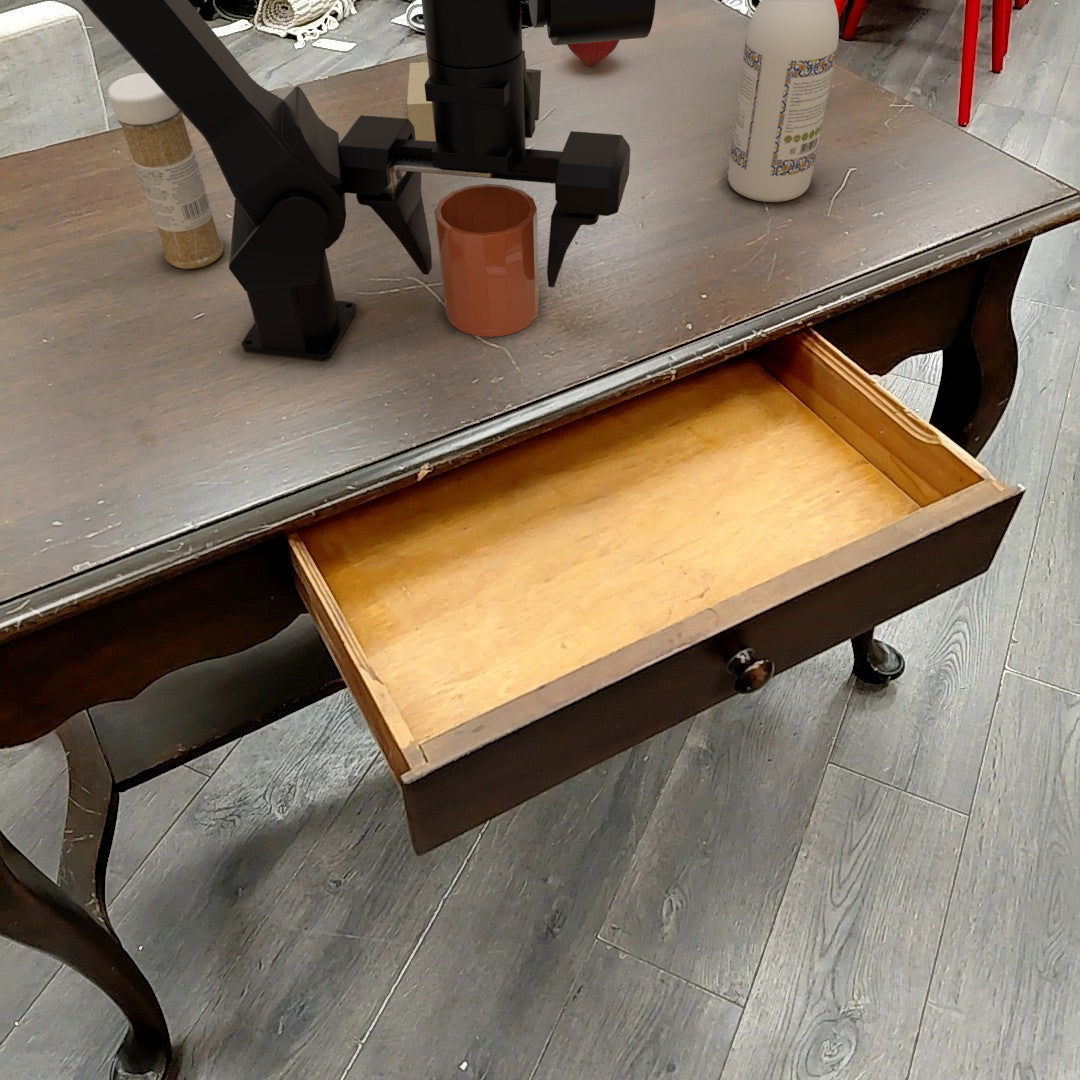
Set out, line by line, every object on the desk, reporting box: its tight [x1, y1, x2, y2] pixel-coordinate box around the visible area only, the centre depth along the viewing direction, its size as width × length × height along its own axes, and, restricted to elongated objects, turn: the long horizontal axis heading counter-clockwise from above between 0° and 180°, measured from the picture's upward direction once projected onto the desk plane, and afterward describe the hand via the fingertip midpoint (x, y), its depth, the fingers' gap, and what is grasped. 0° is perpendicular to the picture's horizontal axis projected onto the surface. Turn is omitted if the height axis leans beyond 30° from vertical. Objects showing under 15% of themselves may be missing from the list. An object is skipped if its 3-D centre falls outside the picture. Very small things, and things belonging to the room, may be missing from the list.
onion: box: [566, 40, 620, 68], centre depth 97 cm, size 6×6×8 cm
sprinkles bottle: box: [107, 72, 224, 270], centre depth 72 cm, size 5×5×14 cm
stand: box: [406, 61, 436, 142], centre depth 90 cm, size 9×9×4 cm
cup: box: [434, 183, 540, 338], centre depth 68 cm, size 7×7×8 cm
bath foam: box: [727, 0, 840, 203], centre depth 75 cm, size 7×7×20 cm
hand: (489, 277), depth 69 cm, fingers open, 9 cm apart
